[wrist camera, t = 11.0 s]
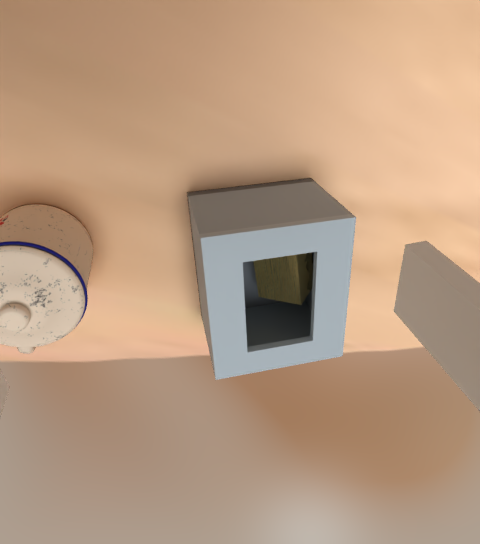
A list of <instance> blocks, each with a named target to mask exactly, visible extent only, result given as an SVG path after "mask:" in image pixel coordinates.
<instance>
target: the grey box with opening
mask: <svg viewBox="0 0 480 544" xmlns="http://www.w3.org/2000/svg"><path fill="white" fill-rule="evenodd" d="M187 197H188V206H189V214H190V223H191V231H192V240H193V248H194V257H195V265H196V274H197V282H198V291H199V299H200V308H201V316H202V320H203V325H204V329H205V334H206V338H207V343H208V347H209V352H210V356H211V361H212V365H213V370H214V374H215V379H216V380H217V379H222V378H228V377H233V376H238V375H244V374H249V373H255V372H260V371H265V370H270V369H276V368H282V367H287V366H292V365H297V364H303V363H308V362H314V361H319V360H324V359H330V358H335V357H341V356H343V346H344V336H345V325H346V315H347V305H348V295H349V284H350V274H351V264H352V253H353V243H354V233H355V223H356V217H355V216H354V215H353V214H352V213H351V212H349V211H348V210H347V209H346V208H345V207H344V206H342V205H341V204H340V203H339V202H338V201H337V200H336V199H334V198H333V197H332V196H331V195H330V194H329V193H327V192H326V191H325V190H324V189H323V188H322V187H321V186H319V185H318V184H317V183H316V182H315V181H314V180H312V179H311V178H307V179H298V180H290V181H281V182H273V183H264V184H255V185H247V186H238V187H230V188H221V189H213V190H204V191H196V192H187ZM311 252H312V258H313V286H312V289H311V291H310V292H309V294H308V295H307V297H306V298H305V300H304V302H303V303H302V305H298V304H293V303H288V302H283V301H277V300H272V299H267V298H262V297H259V295H258V289H257V282H256V275H255V269H254V262H253V261H256V260H262V259H269V258H276V257H283V256H290V255H297V254H304V253H311Z"/></svg>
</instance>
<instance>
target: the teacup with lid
mask: <svg viewBox="0 0 480 544" xmlns="http://www.w3.org/2000/svg"><path fill="white" fill-rule="evenodd" d="M92 259H93V245H92V241H91V238H90V236H89V234H88V232H87V230H86V229H85V227H84V226H83V225H82V224H81V223H80V222H79V221H78V220H77V219H76V218H75V217H73V216H72V215H70V214H69V213H67V212H65V211H63V210H61V209H58V208H56V207H52V206H48V205H39V204H33V205H25V206H21V207H18V208H15V209H13V210H11V211H9V212H7V213H6V214H5V215H3V216H2V217H1V218H0V344H3V345H7V346H12V347H17V348H18V350H19V352H21V353H27V354H29V353H32V352H33V351H34V350H35V348H36V347H38V346H43V345H47V344H50V343H52V342H55V341H57V340H59V339H61V338H63V337H64V336H66V335H67V334H69V333H70V332H71V331H72V330H73V329H74V328H75V327H76V326H77V325H78V323H79V322H80V321H81V319H82V317H83V315H84V313H85V310H86V307H87V285H88V280H89V274H90V269H91V264H92Z"/></svg>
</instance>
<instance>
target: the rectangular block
mask: <svg viewBox="0 0 480 544" xmlns="http://www.w3.org/2000/svg"><path fill="white" fill-rule="evenodd" d="M253 262H254V269H255V275H256V282H257V289H258V295H259V297H262V298H267V299H272V300H277V301H283V302H288V303H293V304H298V305H302V303H303V302H304V300H305V298H306V297H307V295H308V294H309V292H310V291H311V289H312V286H313V258H312V252H311V253H304V254H297V255H290V256H283V257H276V258H269V259H262V260H256V261H253Z"/></svg>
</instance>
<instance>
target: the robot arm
mask: <svg viewBox="0 0 480 544" xmlns="http://www.w3.org/2000/svg"><path fill="white" fill-rule="evenodd" d="M394 312H395V313H396V314H397V316H398V317H399V318H400V319H401V320H402V321H403V323H404V324H405V325H406V326H407V327H408V328H409V330H410V331H411V332H412V333H413V334H414V335H415V337H416V338H417V339H418V340H419V341H420V342H421V344H422V345H423V346H424V347H425V348H426V349H427V350H428V352H429V353H430V354H431V355H432V356H433V358H434V359H435V360H436V361H437V362H438V363H439V364H440V366H441V367H442V368H443V369H444V370H445V372H446V373H447V374H448V375H449V376H450V377H451V378H452V379H453V381H454V382H455V383H456V384H457V385H458V387H459V388H460V389H461V390H462V391H463V392H464V393H465V395H466V396H467V397H468V398H469V400H470V401H471V402H472V403H473V404H474V405H475V406H476V408H477V409H478V410H479V411H480V283H479V282H478V281H476V280H475V279H474V278H473V277H471V276H470V275H469V274H468V273H466V272H465V271H464V270H463V269H461V268H460V267H459V266H458V265H456V264H455V263H454V262H453V261H451V260H450V259H449V258H448V257H446V256H445V255H444V254H443V253H441V252H440V251H439V250H437V249H436V248H435V247H434V246H432V245H431V244H430V243H429V242H427V241H423V242H417V243H412V244H406V245H405V249H404V255H403V261H402V266H401V272H400V278H399V284H398V290H397V296H396V301H395V307H394ZM9 388H10V386H9V385H8V383H7V381H6V379H5V377H4V375H3V373H2V371H1V369H0V417H1V414H2V411H3V407H4V404H5V401H6V398H7V394H8V391H9Z"/></svg>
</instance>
